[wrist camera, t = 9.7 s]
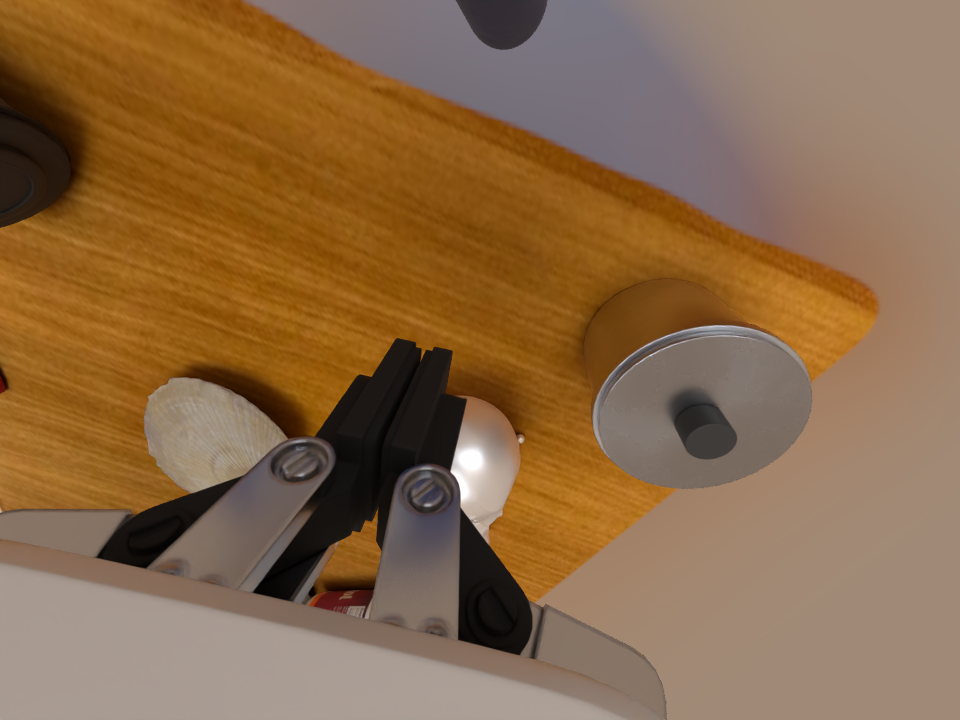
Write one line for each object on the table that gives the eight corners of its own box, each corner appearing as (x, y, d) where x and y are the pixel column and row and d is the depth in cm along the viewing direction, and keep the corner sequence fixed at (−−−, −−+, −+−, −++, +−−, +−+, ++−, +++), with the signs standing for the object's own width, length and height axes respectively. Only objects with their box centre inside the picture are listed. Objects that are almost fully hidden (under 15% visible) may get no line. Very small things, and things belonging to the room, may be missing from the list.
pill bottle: (339, 595, 41) (430, 593, 39) (323, 667, 37) (424, 670, 35) (303, 586, 37) (404, 582, 34) (281, 667, 33) (393, 670, 30)
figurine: (416, 635, 24) (404, 542, 14) (369, 540, 29) (333, 416, 19) (533, 541, 30) (585, 424, 20) (479, 472, 34) (497, 346, 24)
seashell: (148, 345, 25) (106, 367, 23) (314, 392, 26) (290, 419, 23) (178, 460, 31) (147, 487, 29) (312, 498, 32) (293, 528, 29)
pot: (604, 258, 19) (644, 324, 12) (767, 289, 18) (902, 374, 12) (561, 388, 23) (572, 491, 16) (693, 415, 23) (760, 531, 16)
